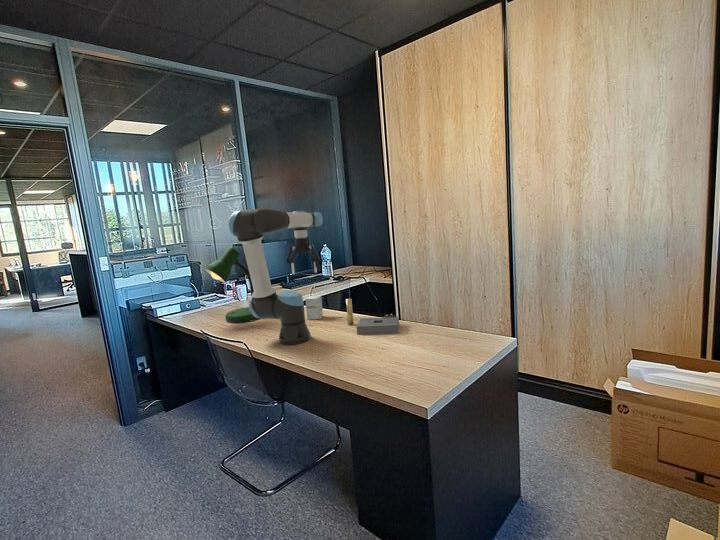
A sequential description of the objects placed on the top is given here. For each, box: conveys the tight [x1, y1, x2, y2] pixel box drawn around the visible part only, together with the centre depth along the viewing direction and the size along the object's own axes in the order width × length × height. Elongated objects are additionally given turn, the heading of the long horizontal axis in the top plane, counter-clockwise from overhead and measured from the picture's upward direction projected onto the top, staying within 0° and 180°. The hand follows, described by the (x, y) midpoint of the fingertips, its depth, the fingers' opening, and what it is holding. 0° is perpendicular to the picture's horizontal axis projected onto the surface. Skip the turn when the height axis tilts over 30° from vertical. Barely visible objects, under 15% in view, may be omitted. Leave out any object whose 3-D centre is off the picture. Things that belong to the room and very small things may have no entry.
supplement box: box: [305, 295, 324, 320], centre depth 219 cm, size 7×7×13 cm
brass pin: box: [345, 298, 355, 326], centre depth 199 cm, size 3×3×14 cm
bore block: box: [356, 316, 400, 335], centre depth 188 cm, size 14×20×4 cm
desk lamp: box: [204, 246, 258, 324], centre depth 228 cm, size 31×23×45 cm
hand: (304, 273), depth 221 cm, fingers open, 13 cm apart
